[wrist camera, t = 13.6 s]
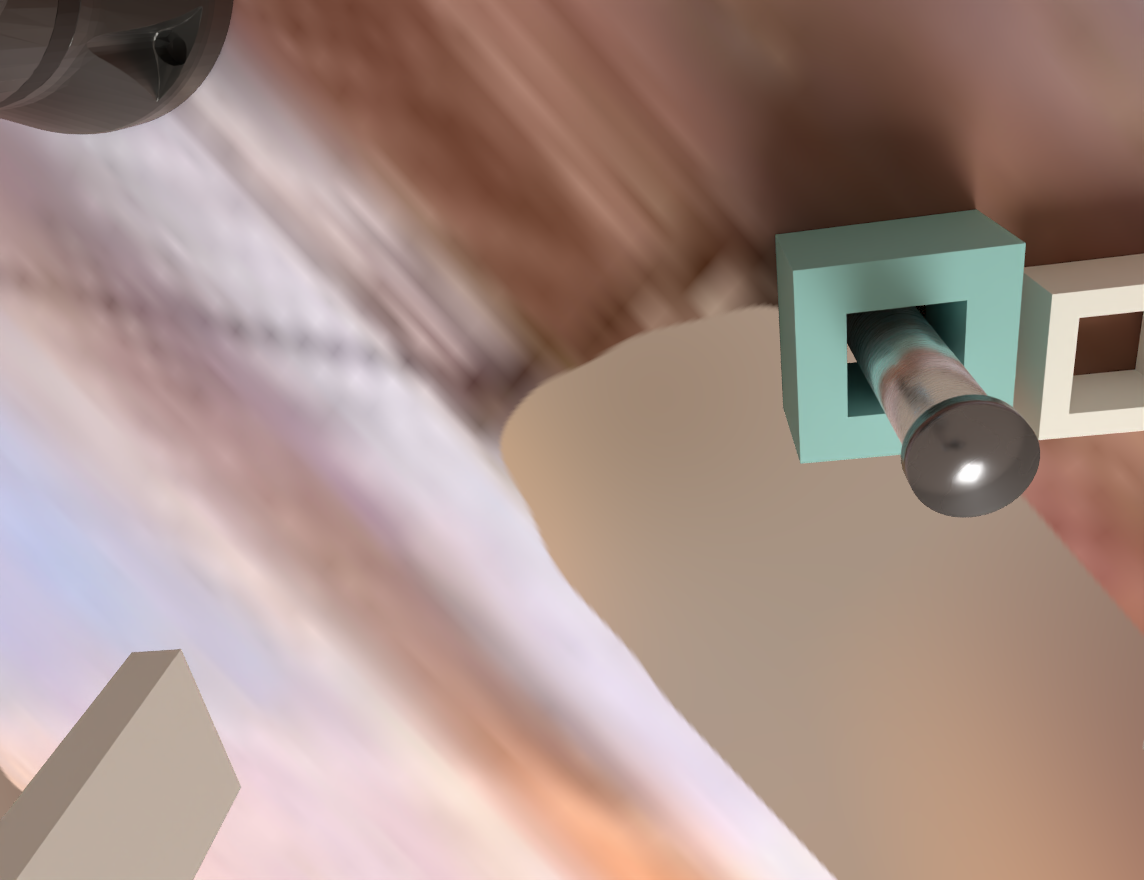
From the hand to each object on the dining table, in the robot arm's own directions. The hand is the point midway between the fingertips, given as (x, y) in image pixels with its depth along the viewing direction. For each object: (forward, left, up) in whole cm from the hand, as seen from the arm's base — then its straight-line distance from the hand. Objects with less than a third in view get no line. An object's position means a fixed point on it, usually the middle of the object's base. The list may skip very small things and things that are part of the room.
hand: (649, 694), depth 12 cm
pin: (+10, -7, -33) cm, 35 cm away
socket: (+10, -7, -33) cm, 35 cm away
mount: (+20, -9, -33) cm, 39 cm away
